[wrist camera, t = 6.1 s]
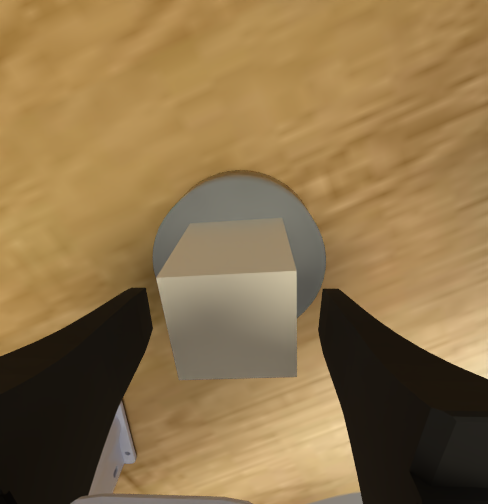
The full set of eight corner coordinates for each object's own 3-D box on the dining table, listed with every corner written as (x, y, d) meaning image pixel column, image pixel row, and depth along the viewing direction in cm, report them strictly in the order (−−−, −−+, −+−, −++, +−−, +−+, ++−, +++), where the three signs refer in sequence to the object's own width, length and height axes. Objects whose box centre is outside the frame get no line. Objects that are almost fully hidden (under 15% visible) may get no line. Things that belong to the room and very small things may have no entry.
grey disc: (324, 286, 20) (338, 318, 17) (198, 314, 21) (187, 349, 18) (297, 149, 16) (307, 157, 13) (147, 193, 18) (123, 209, 14)
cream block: (284, 296, 16) (297, 376, 11) (202, 300, 16) (179, 380, 11) (282, 217, 14) (296, 271, 9) (190, 223, 15) (156, 277, 10)
